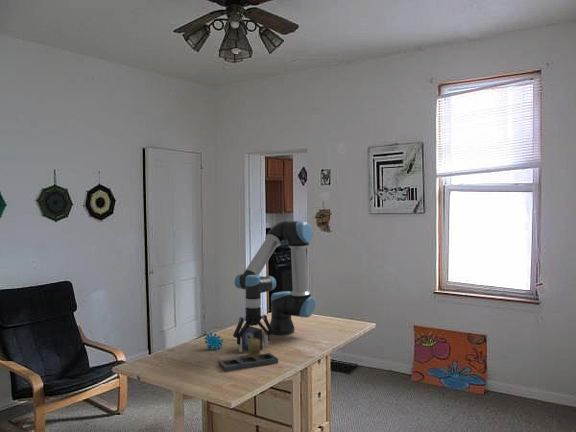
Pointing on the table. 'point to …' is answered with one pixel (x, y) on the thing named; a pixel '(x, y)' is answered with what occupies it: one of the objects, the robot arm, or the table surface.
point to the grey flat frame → (247, 362)
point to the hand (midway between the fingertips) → (253, 349)
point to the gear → (214, 341)
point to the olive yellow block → (253, 346)
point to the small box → (251, 336)
